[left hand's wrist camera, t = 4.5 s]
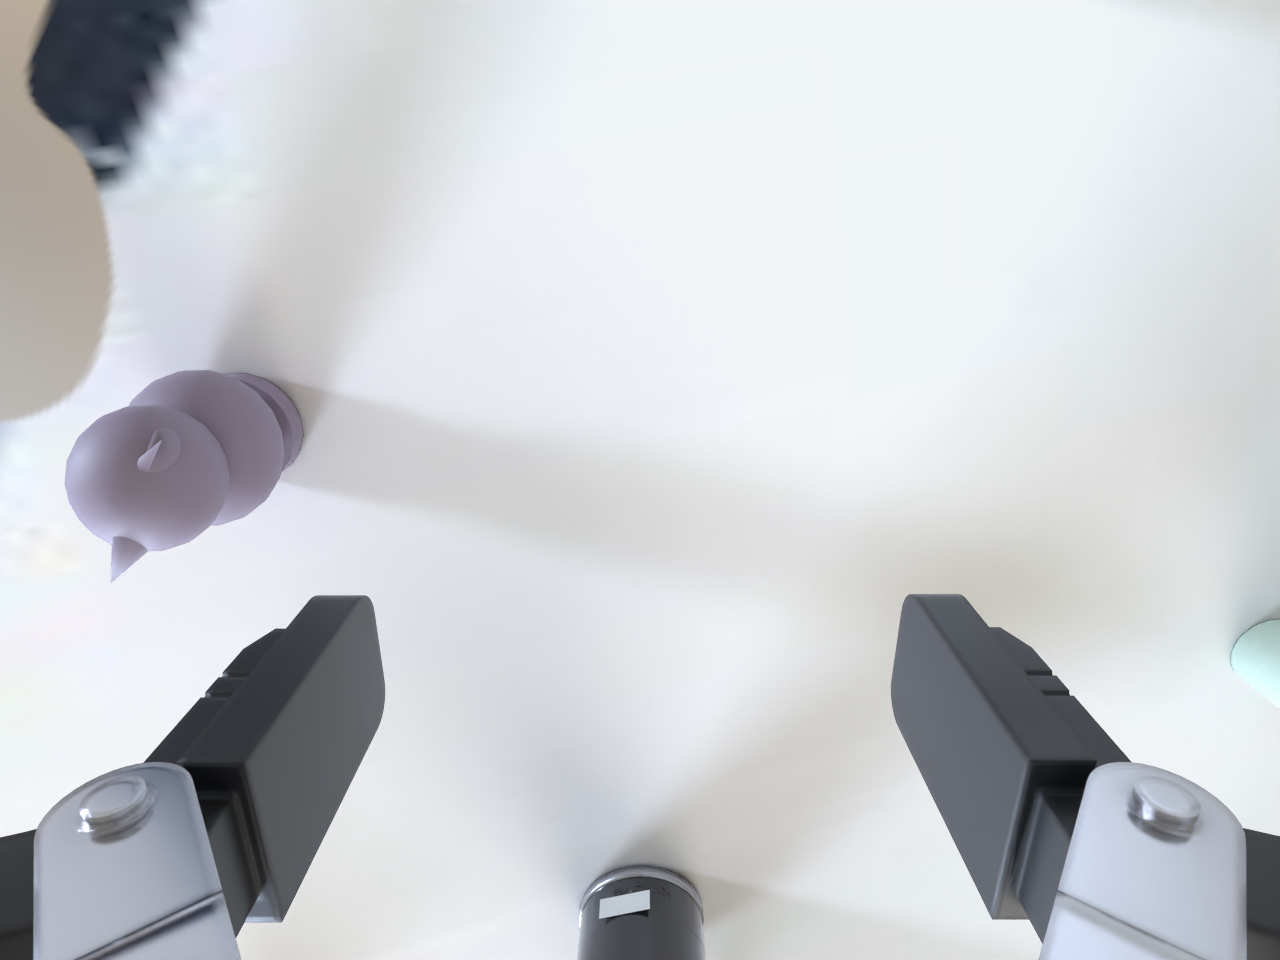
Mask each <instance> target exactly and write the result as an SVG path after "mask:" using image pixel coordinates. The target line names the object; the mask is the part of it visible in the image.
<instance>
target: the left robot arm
mask: <svg viewBox="0 0 1280 960" xmlns="http://www.w3.org/2000/svg"><path fill="white" fill-rule="evenodd" d="M891 699H892V707H893V712H894V716H895V720H896V723H897V725H898V727H899V729H900V731H901V733H902V735H903V737H904V740H905V742H906V744H907V746H908V748H909V750H910V752H911V754H912V756H913V758H914V760H915V762H916V764H917V766H918V768H919V770H920V772H921V774H922V776H923V778H924V781H925V783H926V785H927V787H928V789H929V791H930V793H931V795H932V797H933V799H934V801H935V803H936V805H937V807H938V809H939V811H940V813H941V815H942V817H943V819H944V821H945V824H946V826H947V828H948V830H949V832H950V834H951V836H952V838H953V840H954V842H955V844H956V846H957V848H958V850H959V852H960V854H961V856H962V858H963V860H964V862H965V865H966V867H967V869H968V871H969V873H970V875H971V877H972V879H973V881H974V883H975V885H976V887H977V889H978V891H979V893H980V895H981V897H982V899H983V901H984V903H985V905H986V908H987V910H988V912H989V914H990V916H991V918H992V919H1029V920H1030V921H1031V923H1032V925H1033V927H1034V929H1035V931H1036V933H1037V934H1038V936H1039V938H1040V940H1041V942H1042V944H1043V945H1042V949H1041V953H1040V957H1039V960H1280V836H1276V835H1271V834H1267V833H1262V832H1258V831H1253V830H1249V829H1245V828H1242V826H1241V824H1240V822H1239V821H1238V820H1237V818H1236V817H1235V815H1234V814H1233V813H1232V812H1231V811H1230V810H1229V809H1228V808H1227V806H1225V805H1224V804H1223V803H1222V802H1221V801H1220V800H1219V799H1217V798H1216V797H1215V796H1213V795H1212V794H1211V793H1209V792H1208V791H1206V790H1205V789H1203V788H1202V787H1200V786H1198V785H1197V784H1195V783H1193V782H1191V781H1189V780H1187V779H1185V778H1183V777H1181V776H1179V775H1176V774H1174V773H1172V772H1169V771H1166V770H1163V769H1160V768H1157V767H1153V766H1149V765H1145V764H1139V763H1132V762H1131V761H1130V760H1129V759H1128V758H1127V756H1126V755H1125V754H1124V753H1123V752H1122V751H1121V750H1120V748H1119V747H1118V746H1117V745H1116V744H1115V743H1114V742H1113V740H1112V739H1111V738H1110V737H1109V736H1108V735H1107V733H1106V732H1105V731H1104V730H1103V729H1102V728H1101V727H1100V725H1099V724H1098V723H1097V722H1096V721H1095V720H1094V719H1093V717H1092V716H1091V715H1090V714H1089V713H1088V712H1087V711H1086V709H1085V708H1084V707H1083V706H1082V705H1081V704H1080V702H1079V701H1078V700H1077V699H1076V698H1075V697H1074V696H1070V695H1069V690H1068V689H1067V688H1066V686H1065V685H1064V684H1063V683H1062V682H1061V681H1060V679H1059V678H1058V677H1057V676H1053V675H1052V670H1051V669H1050V668H1049V667H1048V666H1047V665H1046V663H1045V662H1044V661H1043V660H1042V659H1041V658H1040V657H1039V655H1038V654H1037V653H1036V652H1035V651H1034V650H1033V648H1032V647H1030V646H1029V645H1027V644H1025V643H1024V642H1022V641H1021V640H1019V639H1017V638H1016V637H1014V636H1013V635H1011V634H1010V633H1008V632H1006V631H1005V630H1003V629H1002V628H1000V627H988V625H987V624H986V623H985V622H984V620H983V619H982V618H981V617H980V615H979V614H978V613H977V612H976V611H975V609H974V608H973V607H972V606H971V604H970V603H969V602H968V601H967V599H966V598H965V597H964V596H962V595H959V594H910V595H908V596H907V597H906V598H905V600H904V603H903V606H902V611H901V618H900V625H899V632H898V639H897V646H896V653H895V660H894V667H893V674H892V682H891ZM384 702H385V682H384V675H383V668H382V661H381V654H380V647H379V640H378V633H377V627H376V620H375V613H374V608H373V604H372V602H371V600H370V598H369V597H368V596H314V597H312V598H311V599H310V600H309V601H308V603H307V604H306V605H305V606H304V608H303V609H302V610H301V611H300V612H299V614H298V615H297V616H296V617H295V618H294V620H293V621H292V622H291V623H290V625H289V626H288V627H287V628H286V629H274V630H273V631H271V632H270V633H268V634H266V635H265V636H263V637H262V638H260V639H259V640H257V641H255V642H254V643H252V644H251V645H249V646H247V647H246V648H244V649H243V650H242V651H241V652H240V654H239V655H238V656H237V657H236V658H235V659H234V660H233V662H232V663H231V664H230V665H229V666H228V667H227V668H226V669H225V671H224V672H223V676H222V677H218V679H217V680H216V681H215V682H214V683H213V684H212V685H211V687H210V688H209V689H208V690H207V691H206V692H205V698H200V699H199V700H198V701H197V702H196V704H195V705H194V706H193V707H192V708H191V709H190V710H189V712H188V713H187V714H186V715H185V716H184V717H183V718H182V720H181V721H180V722H179V723H178V724H177V725H176V726H175V728H174V729H173V730H172V731H171V732H170V733H169V734H168V735H167V737H166V738H165V739H164V740H163V741H162V742H161V743H160V745H159V746H158V747H157V748H156V749H155V750H154V751H153V753H152V754H151V755H150V756H149V757H148V758H147V759H146V761H145V762H144V763H141V764H135V765H131V766H127V767H123V768H120V769H117V770H114V771H111V772H108V773H106V774H104V775H101V776H99V777H97V778H95V779H93V780H91V781H89V782H87V783H85V784H83V785H82V786H80V787H78V788H77V789H75V790H74V791H72V792H71V793H69V794H68V795H67V796H65V797H64V798H63V799H61V800H60V801H59V802H58V803H57V804H56V805H55V806H53V808H52V809H51V810H50V811H49V812H48V813H47V814H46V815H45V817H44V818H43V820H42V821H41V822H40V824H39V826H38V828H37V829H35V830H31V831H27V832H23V833H19V834H14V835H10V836H5V837H1V838H0V960H241V957H240V953H239V949H238V945H237V942H236V937H237V935H238V933H239V931H240V930H241V928H242V926H243V924H244V922H282V921H283V919H284V917H285V915H286V913H287V911H288V909H289V907H290V905H291V903H292V901H293V899H294V897H295V895H296V893H297V891H298V889H299V887H300V885H301V883H302V881H303V879H304V877H305V875H306V873H307V871H308V869H309V867H310V865H311V862H312V860H313V858H314V856H315V854H316V852H317V850H318V848H319V846H320V844H321V842H322V840H323V838H324V836H325V834H326V832H327V830H328V828H329V826H330V824H331V822H332V820H333V818H334V816H335V814H336V812H337V810H338V808H339V806H340V804H341V802H342V800H343V798H344V796H345V794H346V792H347V790H348V788H349V786H350V784H351V782H352V780H353V777H354V775H355V773H356V771H357V769H358V767H359V765H360V763H361V761H362V759H363V757H364V755H365V753H366V751H367V749H368V747H369V745H370V743H371V741H372V739H373V737H374V735H375V733H376V731H377V729H378V727H379V724H380V721H381V718H382V714H383V709H384ZM579 923H580V933H579V946H578V955H577V960H705V949H704V937H703V910H702V903H701V900H700V897H699V895H698V893H697V891H696V890H695V889H694V887H693V886H692V885H691V884H690V883H689V882H688V881H686V880H685V879H684V878H682V877H681V876H679V875H677V874H675V873H673V872H671V871H668V870H665V869H661V868H657V867H650V866H633V867H626V868H621V869H618V870H615V871H612V872H610V873H607V874H605V875H604V876H602V877H600V878H599V879H597V880H596V881H595V882H594V883H593V884H592V885H591V886H590V887H589V888H588V889H587V891H586V892H585V894H584V896H583V898H582V902H581V906H580V918H579Z"/></svg>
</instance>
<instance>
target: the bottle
mask: <svg viewBox="0 0 1280 960" xmlns="http://www.w3.org/2000/svg"><path fill="white" fill-rule="evenodd" d="M1231 664H1232V667H1233V669H1234V671H1235V673H1236V674H1237V675H1238V676H1239V677H1241V678H1242V679H1243V680H1244V681H1246V682H1247V683H1248V684H1249V685H1251V686H1252V687H1253V688H1254V689H1256V690H1257V691H1258V692H1259V693H1261V694H1262V695H1263V696H1264V697H1266V698H1267V699H1268V700H1269V701H1271V702H1272V703H1273V704H1274V705H1276V706H1277V707H1278V708H1279V709H1280V619H1275V620H1269V621H1265V622H1262V623H1260V624H1258V625H1256V626H1254V627H1252V628H1251V629H1249V630H1248V631H1246V632H1245V633H1244V634H1243V635H1242V636H1241V637H1240V638H1239V639H1238V641H1237V642H1236V644H1235V646H1234V648H1233V650H1232V654H1231Z"/></svg>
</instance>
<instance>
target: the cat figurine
mask: <svg viewBox="0 0 1280 960" xmlns="http://www.w3.org/2000/svg"><path fill="white" fill-rule="evenodd" d="M302 440H303V429H302V423H301V418H300V416H299V414H298V412H297V410H296V408H295V406H294V404H293V402H292V401H291V400H290V399H289V398H288V397H287V396H286V395H285V393H284V392H283V391H282V390H281V389H280V388H278V387H277V386H275V385H273V384H272V383H270V382H269V381H267V380H266V379H263V378H260V377H257V376H254V375H251V374H246V373H229V374H226V375H223V374H220V373H217V372H214V371H209V370H201V371H180V372H177V373H174V374H171V375H169V376H166V377H163V378H161V379H158V380H156V381H154V382H152V383H151V384H150V385H148V386H147V387H146V388H145V389H144V390H143V391H142V392H141V393H140V394H138V395H137V396H136V397H135V398H134V399H133V400H132V402H131V403H130V405H129V407H125V408H122V409H120V410H117V411H114V412H112V413H109V414H106V415H104V416H102V417H100V418H99V419H97V420H96V421H95V422H94V423H93V424H92V425H91V426H90V427H89V428H87V429H86V430H85V431H84V432H83V433H82V434H81V435H80V436H79V437H78V439H77V441H76V443H75V445H74V447H73V449H72V451H71V453H70V455H69V457H68V459H67V464H66V475H65V487H66V491H67V495H68V500H69V503H70V505H71V507H72V508H73V510H74V512H75V514H76V515H77V517H78V519H79V520H80V521H81V522H82V523H83V524H84V525H85V526H86V527H87V528H88V529H89V530H90V531H91V532H92V533H93V534H94V535H96V536H97V537H99V538H101V539H102V540H104V541H106V542H108V543H109V544H111V545H112V561H111V583H112V582H113V581H114V580H115V579H116V578H117V577H119V576H120V575H121V574H122V573H123V572H124V571H126V570H127V569H128V568H129V567H130V566H131V565H133V564H134V563H135V562H136V561H137V560H138V559H139V558H141V557H142V556H143V555H144V554H145V553H146V552H148V551H164V550H167V549H170V548H173V547H176V546H179V545H182V544H185V543H188V542H190V541H191V540H193V539H195V538H196V537H197V536H198V535H200V534H201V533H202V532H203V531H204V530H206V529H207V528H208V527H209V526H217V525H222V524H225V523H228V522H231V521H234V520H237V519H240V518H243V517H245V516H246V515H248V514H249V513H251V512H252V511H253V510H254V509H256V508H257V507H258V506H259V505H261V504H262V503H263V502H264V501H265V500H266V499H267V498H268V497H269V495H270V493H271V492H272V490H273V488H274V487H275V485H276V483H277V482H278V480H279V478H280V475H281V472H282V471H283V470H284V469H286V468H287V467H288V466H290V465H291V464H292V463H293V462H294V460H295V459H296V457H297V455H298V454H299V452H300V451H301V445H302Z"/></svg>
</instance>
